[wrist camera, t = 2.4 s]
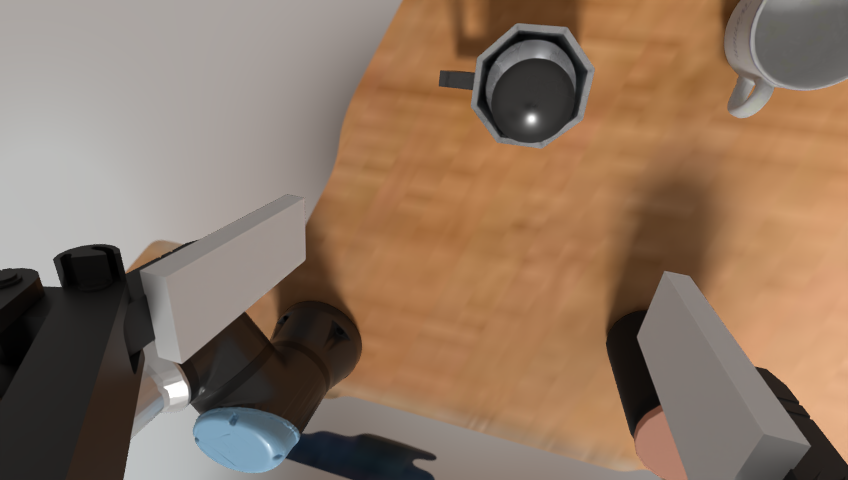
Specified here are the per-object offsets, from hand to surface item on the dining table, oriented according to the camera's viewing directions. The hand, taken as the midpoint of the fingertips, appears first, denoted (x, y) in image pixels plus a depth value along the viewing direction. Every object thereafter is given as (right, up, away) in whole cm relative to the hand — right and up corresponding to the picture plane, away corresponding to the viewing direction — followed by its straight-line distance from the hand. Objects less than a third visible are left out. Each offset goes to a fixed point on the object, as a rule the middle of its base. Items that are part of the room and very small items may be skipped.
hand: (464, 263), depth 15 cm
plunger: (+8, +15, +23) cm, 29 cm away
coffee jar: (+29, -13, +41) cm, 52 cm away
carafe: (+9, +19, +33) cm, 39 cm away
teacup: (+33, +21, +26) cm, 47 cm away
